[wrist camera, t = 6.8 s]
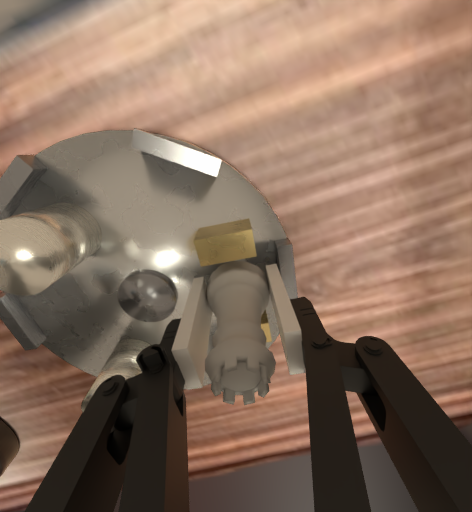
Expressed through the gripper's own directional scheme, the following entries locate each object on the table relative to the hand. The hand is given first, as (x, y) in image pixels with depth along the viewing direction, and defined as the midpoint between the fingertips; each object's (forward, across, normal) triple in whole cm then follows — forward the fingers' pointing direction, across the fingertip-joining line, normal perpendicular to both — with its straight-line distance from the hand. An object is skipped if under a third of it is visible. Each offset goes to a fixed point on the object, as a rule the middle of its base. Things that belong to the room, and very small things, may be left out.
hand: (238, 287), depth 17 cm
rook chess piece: (0, 0, 0) cm, 0 cm away
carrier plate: (+3, -7, 0) cm, 8 cm away
